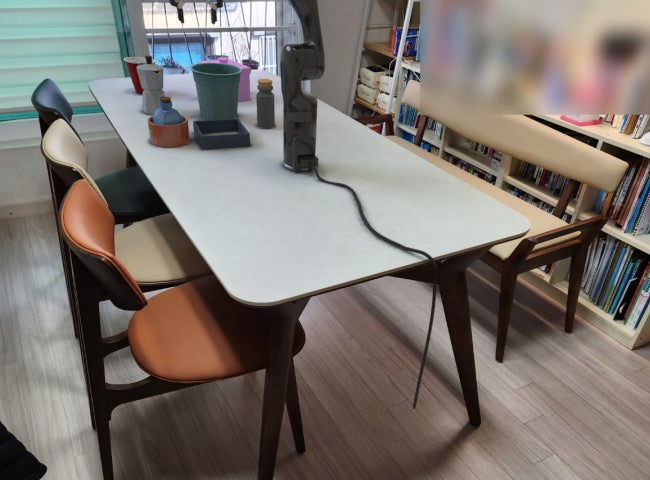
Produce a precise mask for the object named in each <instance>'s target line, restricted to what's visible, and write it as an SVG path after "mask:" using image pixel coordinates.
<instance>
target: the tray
mask: <svg viewBox="0 0 650 480" xmlns="http://www.w3.org/2000/svg"><path fill="white" fill-rule="evenodd" d="M192 127H193V128H192V129H193V134H194V137H195V138H196V140H197V142H198V144H199V147H201V149H202V150H215V149H216V150H217V149H229V148H243V147H251V133H250V131H249V130H248V129H247V127H246V126H245V124H244V123H242V121H241V120H240V118H238V117H237V118H236V119H219V120H206V119H201V120H192ZM232 132H233V133H232ZM234 132H238V133H234ZM215 133H222V134H215ZM223 133H224V134H223ZM203 134H208V135H203Z"/></svg>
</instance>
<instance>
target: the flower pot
mask: <svg viewBox="0 0 650 480" xmlns="http://www.w3.org/2000/svg"><path fill="white" fill-rule="evenodd" d="M190 66H191V67H189V69H190V71H191V73H192V76H193V77H192V78H193V81H194V83H195V89H196V94H197V101H198V106H199V112H200V116H201V118H202V119H203V120H219V119H238V105H239V101H238V89H239V83H240V73H241V72H242V69H241V68H239V67H237V66H234V65H230V64H224V63H198V62H197V63H194V64H192V65H190Z"/></svg>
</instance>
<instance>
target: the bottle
mask: <svg viewBox="0 0 650 480" xmlns="http://www.w3.org/2000/svg"><path fill="white" fill-rule="evenodd" d="M257 83H258V85H257V86H256V89H257V90H258V92H256V94H255V95H256V97H255V98H256V99H255V100H256V123H257V125H256V126H257V128H259V129H266V130H267V129H273V128H275V126H276V114H275V112H276V111H275V108H276V107H275V106H276V105H275V103H276V102H275V94H274V93H273V91H274V85H273V80H272V79H270V78H258V79H257Z"/></svg>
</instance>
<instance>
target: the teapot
mask: <svg viewBox="0 0 650 480" xmlns="http://www.w3.org/2000/svg"><path fill="white" fill-rule="evenodd" d="M198 63H224V64H230V65H234V66H237V67H239V68H241V69H242V72H241V73H240V83H239V89H238V102H244V101H251V77H250V75H251V73H252V68H251V66H249V65H244V64H242V63H239V62H238V61H235V60H234V59H231V58H228V57H224V56H219V57H217V59H210V60H209V59H208V60H198V61H197V64H198ZM191 66H192V65H188V66H187V67H188V68H190V67H191Z"/></svg>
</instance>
